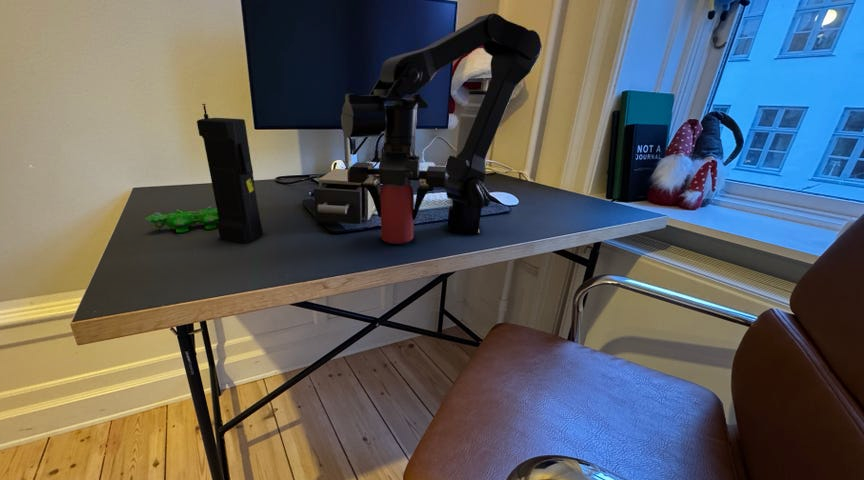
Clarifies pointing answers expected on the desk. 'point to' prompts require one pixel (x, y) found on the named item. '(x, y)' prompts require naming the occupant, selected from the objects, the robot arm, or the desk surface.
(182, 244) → the desk surface
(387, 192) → the beer can
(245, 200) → the portable radio
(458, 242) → the desk surface
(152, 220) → the crocodile figurine
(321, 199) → the drawer
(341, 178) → the small drawer cabinet
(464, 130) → the thermos bottle
